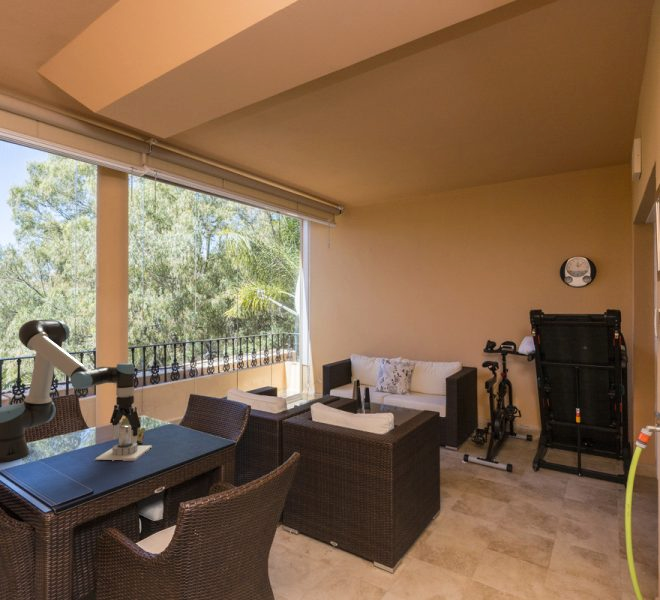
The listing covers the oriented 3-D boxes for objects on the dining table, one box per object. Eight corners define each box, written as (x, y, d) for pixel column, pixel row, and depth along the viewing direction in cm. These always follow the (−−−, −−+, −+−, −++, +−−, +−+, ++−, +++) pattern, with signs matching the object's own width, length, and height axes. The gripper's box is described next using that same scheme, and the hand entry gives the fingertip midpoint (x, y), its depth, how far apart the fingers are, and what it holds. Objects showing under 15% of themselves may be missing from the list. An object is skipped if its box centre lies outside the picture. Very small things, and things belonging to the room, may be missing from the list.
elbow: (123, 454, 192) (123, 428, 192) (116, 452, 194) (117, 426, 195) (137, 449, 198) (138, 424, 199) (131, 447, 201) (131, 423, 201)
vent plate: (95, 460, 186) (95, 452, 186) (116, 447, 204) (116, 439, 204) (134, 460, 186) (134, 451, 186) (152, 447, 204) (152, 439, 204)
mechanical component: (144, 455, 213) (153, 415, 222) (126, 452, 198) (136, 409, 206) (130, 454, 214) (139, 415, 223) (111, 451, 198) (121, 409, 207)
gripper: (149, 396, 193) (148, 442, 192) (117, 391, 205) (116, 434, 205) (134, 399, 186) (134, 447, 186) (102, 394, 199) (101, 438, 198)
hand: (125, 440), depth 195 cm, fingers open, 13 cm apart
